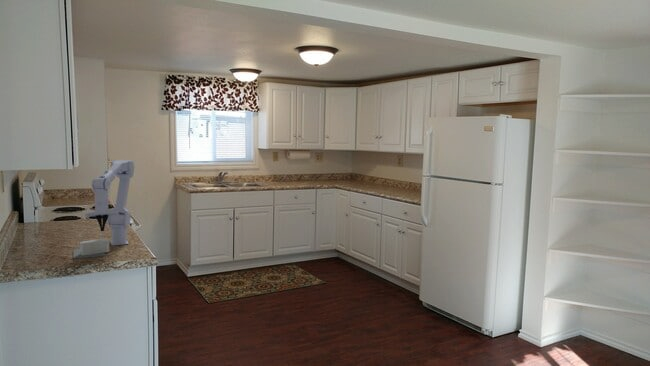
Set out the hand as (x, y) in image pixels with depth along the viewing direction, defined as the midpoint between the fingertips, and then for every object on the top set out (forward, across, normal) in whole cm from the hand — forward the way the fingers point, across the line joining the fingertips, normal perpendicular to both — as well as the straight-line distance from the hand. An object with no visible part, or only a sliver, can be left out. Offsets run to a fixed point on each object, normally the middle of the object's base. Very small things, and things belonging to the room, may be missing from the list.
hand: (102, 230), depth 223 cm
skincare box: (+7, +2, -1) cm, 7 cm away
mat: (+10, -6, 0) cm, 12 cm away
